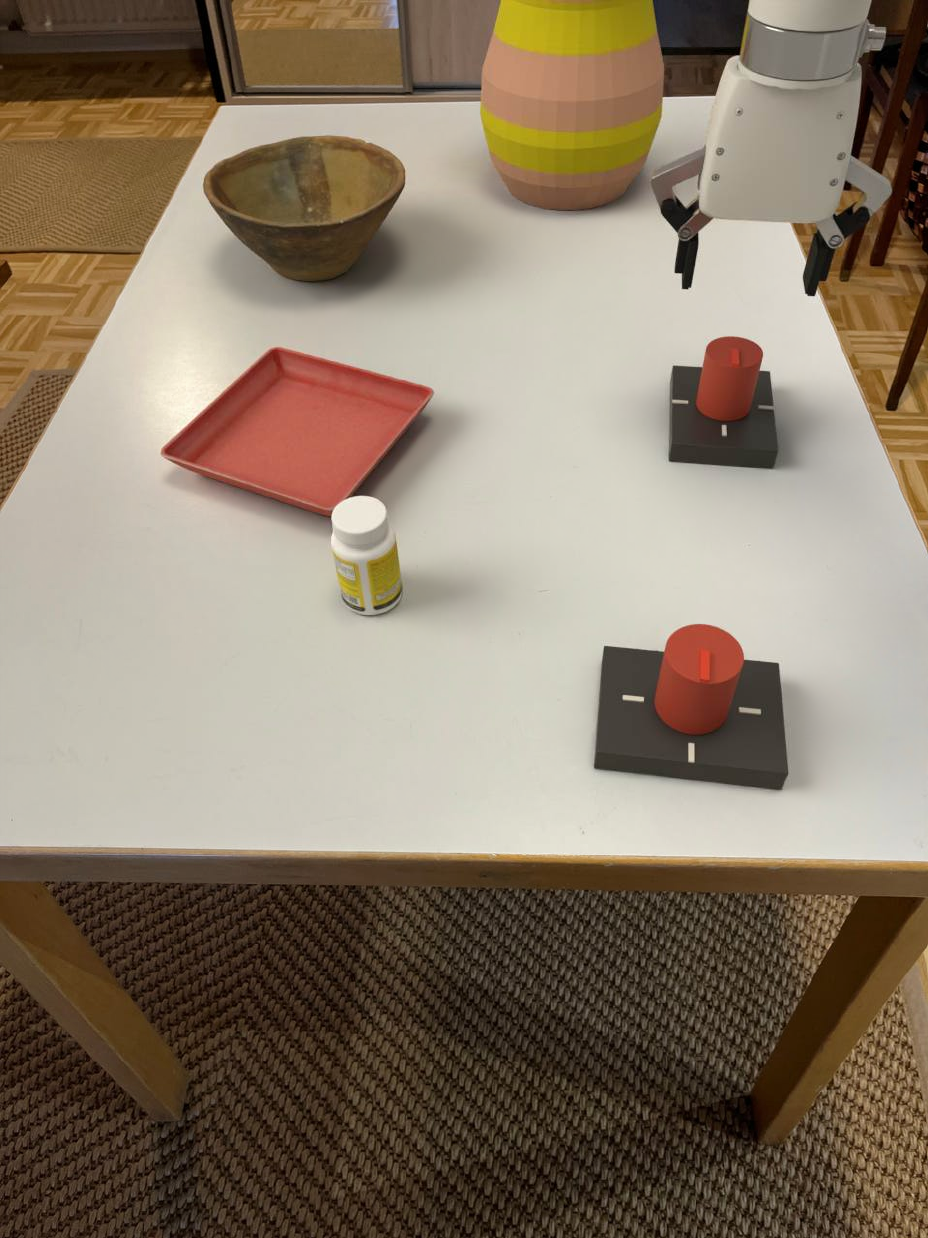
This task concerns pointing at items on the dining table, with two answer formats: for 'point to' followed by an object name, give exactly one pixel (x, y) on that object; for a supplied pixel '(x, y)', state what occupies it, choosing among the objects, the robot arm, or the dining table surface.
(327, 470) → the plant saucer
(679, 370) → the dark square slab
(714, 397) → the red cylindrical knob
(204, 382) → the dining table surface
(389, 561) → the supplement bottle
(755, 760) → the dark tick-marked fixture
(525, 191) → the vase
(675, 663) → the near red knob
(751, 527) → the dining table surface
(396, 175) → the bowl
